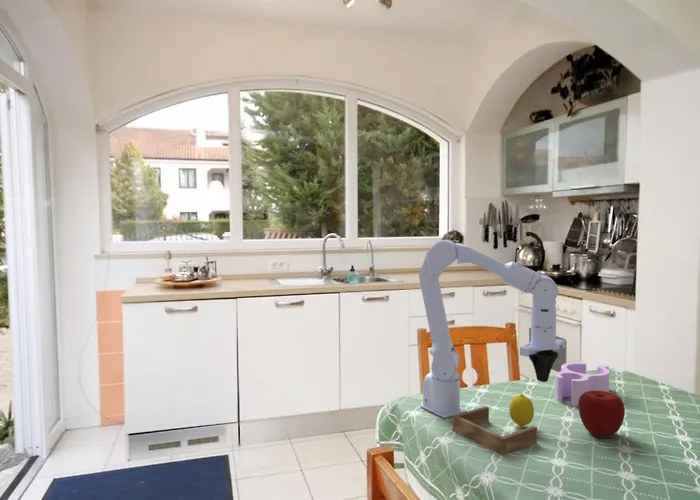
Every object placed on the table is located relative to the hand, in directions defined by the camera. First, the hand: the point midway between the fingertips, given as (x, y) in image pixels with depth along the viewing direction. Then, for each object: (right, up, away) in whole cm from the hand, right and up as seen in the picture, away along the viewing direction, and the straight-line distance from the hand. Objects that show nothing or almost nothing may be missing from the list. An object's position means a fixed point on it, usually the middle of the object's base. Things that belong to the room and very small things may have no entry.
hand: (542, 380), depth 125 cm
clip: (+18, -9, +18) cm, 27 cm away
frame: (-14, -11, -8) cm, 19 cm away
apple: (+11, -11, -8) cm, 17 cm away
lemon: (-6, -10, -3) cm, 13 cm away
